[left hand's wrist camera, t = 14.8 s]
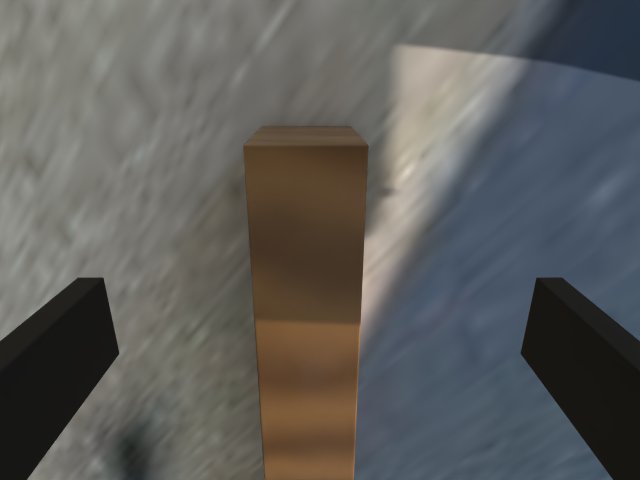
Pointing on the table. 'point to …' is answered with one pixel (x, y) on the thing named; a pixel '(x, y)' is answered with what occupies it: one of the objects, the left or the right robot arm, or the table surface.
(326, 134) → the bar
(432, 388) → the table surface
